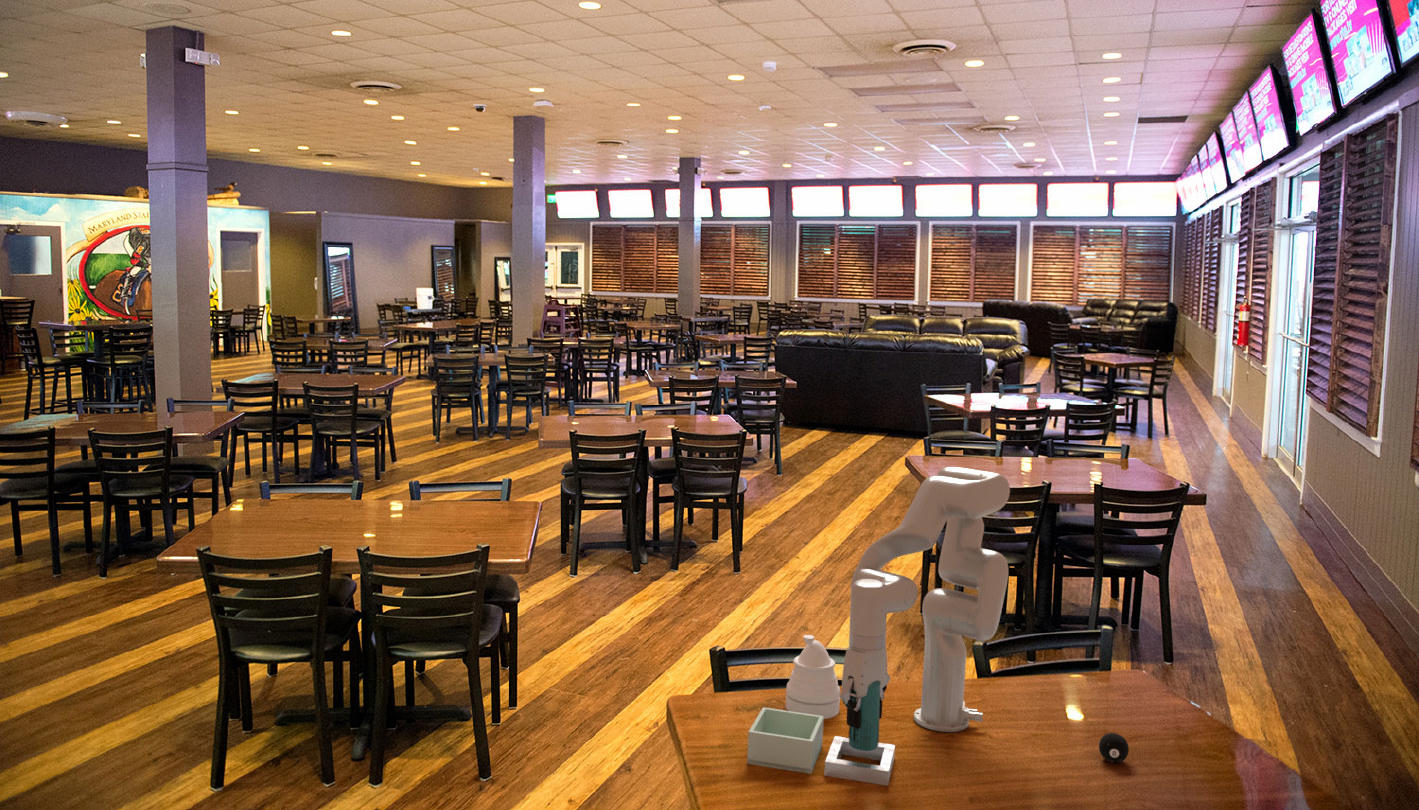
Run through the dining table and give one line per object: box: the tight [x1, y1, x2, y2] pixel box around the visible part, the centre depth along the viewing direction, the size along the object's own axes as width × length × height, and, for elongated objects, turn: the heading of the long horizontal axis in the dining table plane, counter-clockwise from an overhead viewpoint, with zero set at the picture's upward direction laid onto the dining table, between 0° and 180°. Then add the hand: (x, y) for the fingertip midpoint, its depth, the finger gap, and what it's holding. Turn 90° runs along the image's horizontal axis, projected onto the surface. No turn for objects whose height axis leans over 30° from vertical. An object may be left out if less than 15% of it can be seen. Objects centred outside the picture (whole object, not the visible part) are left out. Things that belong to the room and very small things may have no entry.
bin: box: [746, 706, 825, 775], centre depth 220 cm, size 14×14×7 cm
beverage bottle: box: [847, 680, 881, 751], centre depth 215 cm, size 6×7×20 cm
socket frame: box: [823, 735, 896, 787], centre depth 215 cm, size 13×13×3 cm
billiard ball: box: [1098, 732, 1130, 763], centre depth 222 cm, size 6×6×6 cm
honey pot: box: [785, 634, 841, 720], centre depth 245 cm, size 13×13×18 cm
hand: (864, 720), depth 215 cm, fingers closed on beverage bottle, 6 cm apart
